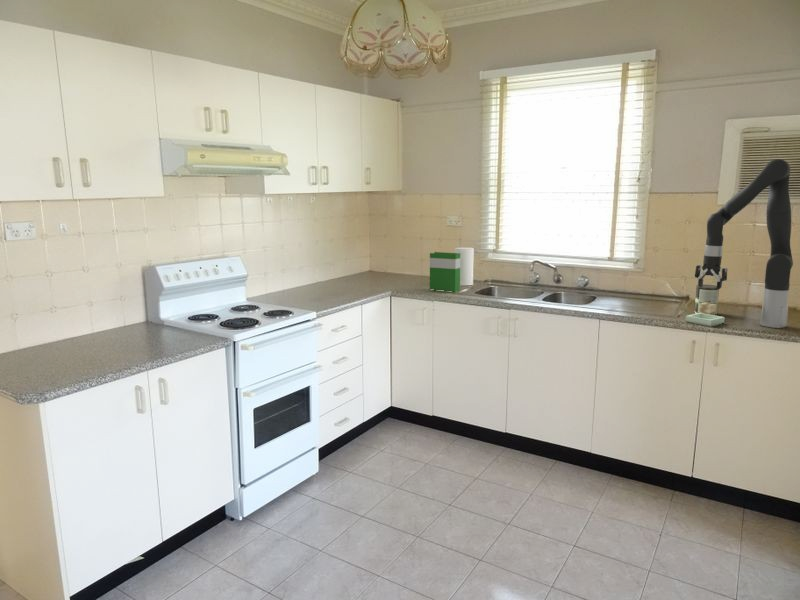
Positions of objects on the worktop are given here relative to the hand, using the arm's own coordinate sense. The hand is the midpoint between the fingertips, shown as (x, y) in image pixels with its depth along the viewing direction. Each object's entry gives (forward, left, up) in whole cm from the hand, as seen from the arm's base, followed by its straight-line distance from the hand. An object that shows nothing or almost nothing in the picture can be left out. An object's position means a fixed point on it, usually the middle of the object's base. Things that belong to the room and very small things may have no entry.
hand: (709, 287), depth 271 cm
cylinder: (+145, +34, -15) cm, 150 cm away
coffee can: (+6, -10, -15) cm, 19 cm away
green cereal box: (+135, +58, -15) cm, 148 cm away
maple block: (0, 0, -15) cm, 15 cm away
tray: (-5, +11, -15) cm, 19 cm away
